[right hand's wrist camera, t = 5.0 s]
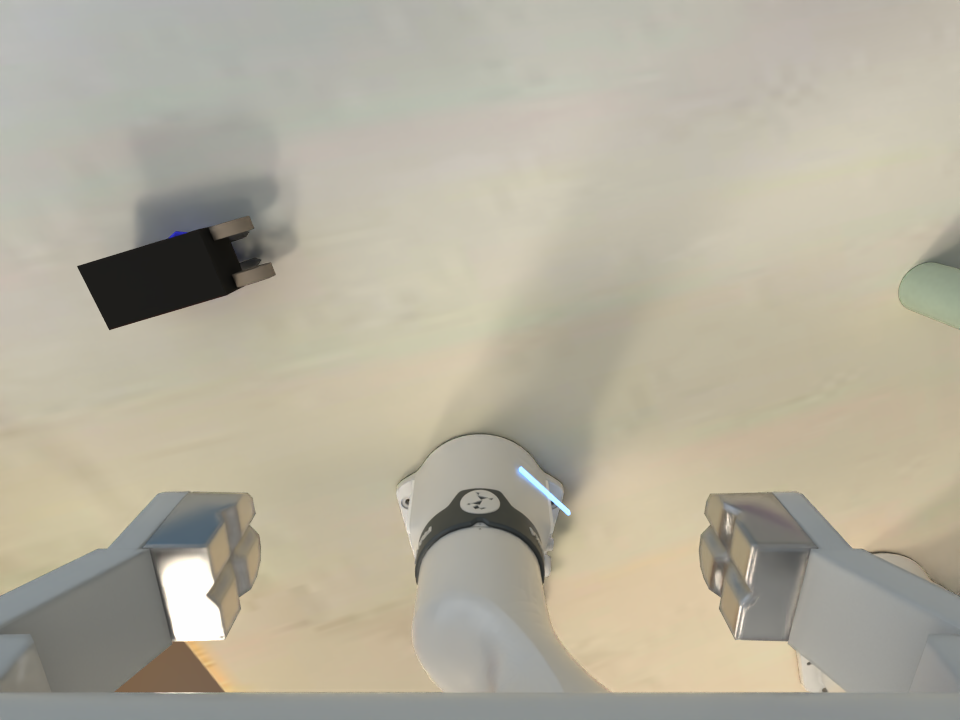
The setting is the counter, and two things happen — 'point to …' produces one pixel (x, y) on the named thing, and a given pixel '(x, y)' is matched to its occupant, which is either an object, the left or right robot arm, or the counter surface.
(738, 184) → the counter surface
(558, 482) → the right robot arm
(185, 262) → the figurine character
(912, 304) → the jar
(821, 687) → the left robot arm
